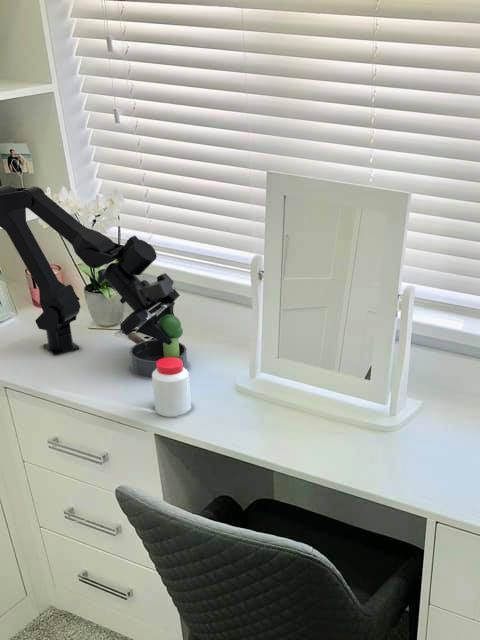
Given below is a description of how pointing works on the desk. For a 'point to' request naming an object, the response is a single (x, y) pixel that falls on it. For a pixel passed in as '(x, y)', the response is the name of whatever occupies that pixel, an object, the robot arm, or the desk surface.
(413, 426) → the desk surface
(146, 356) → the pan
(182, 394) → the pill bottle
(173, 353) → the broccoli
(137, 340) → the pan handle
